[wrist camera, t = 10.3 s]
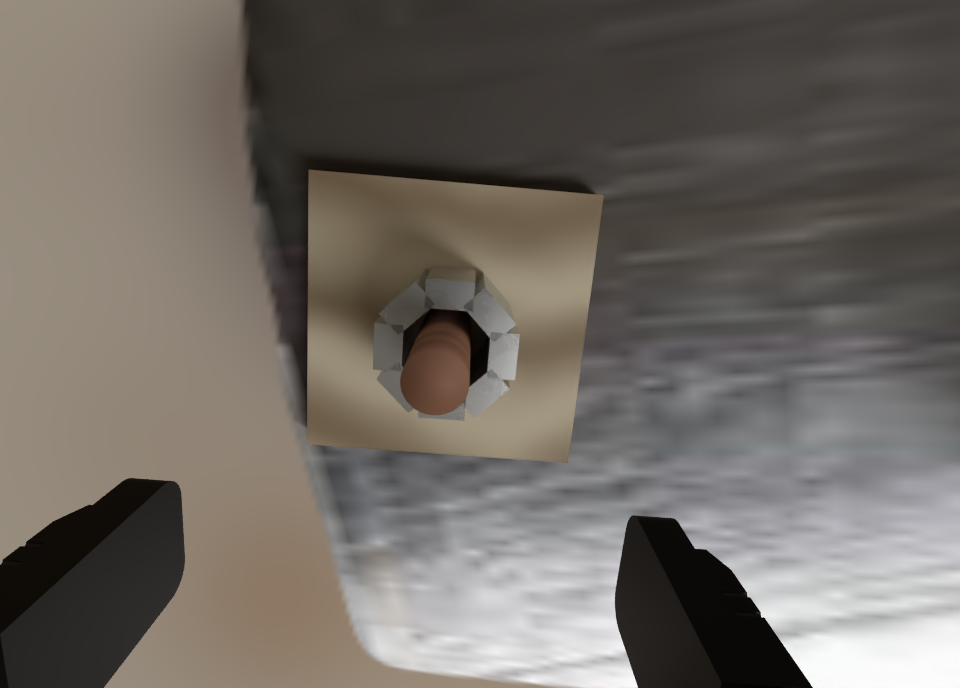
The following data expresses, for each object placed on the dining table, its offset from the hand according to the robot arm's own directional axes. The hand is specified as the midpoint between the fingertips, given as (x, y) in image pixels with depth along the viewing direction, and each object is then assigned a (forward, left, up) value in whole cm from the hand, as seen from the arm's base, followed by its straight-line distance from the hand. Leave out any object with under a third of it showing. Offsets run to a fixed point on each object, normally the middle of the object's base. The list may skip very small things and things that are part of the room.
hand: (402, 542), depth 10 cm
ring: (0, 0, -18) cm, 18 cm away
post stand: (0, 0, -20) cm, 20 cm away
